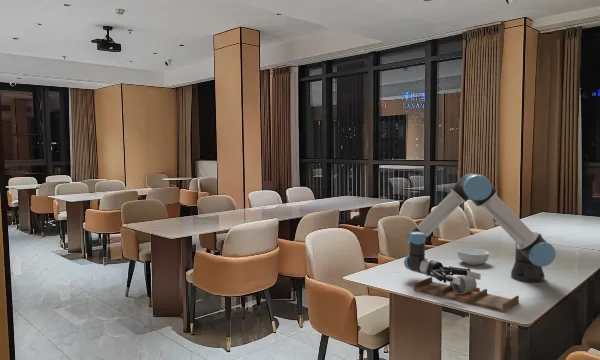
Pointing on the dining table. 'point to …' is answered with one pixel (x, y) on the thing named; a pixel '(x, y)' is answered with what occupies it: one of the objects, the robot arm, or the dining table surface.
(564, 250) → the dining table surface
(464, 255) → the cereal bowl
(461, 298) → the rack
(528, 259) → the robot arm
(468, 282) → the ceramic mug
